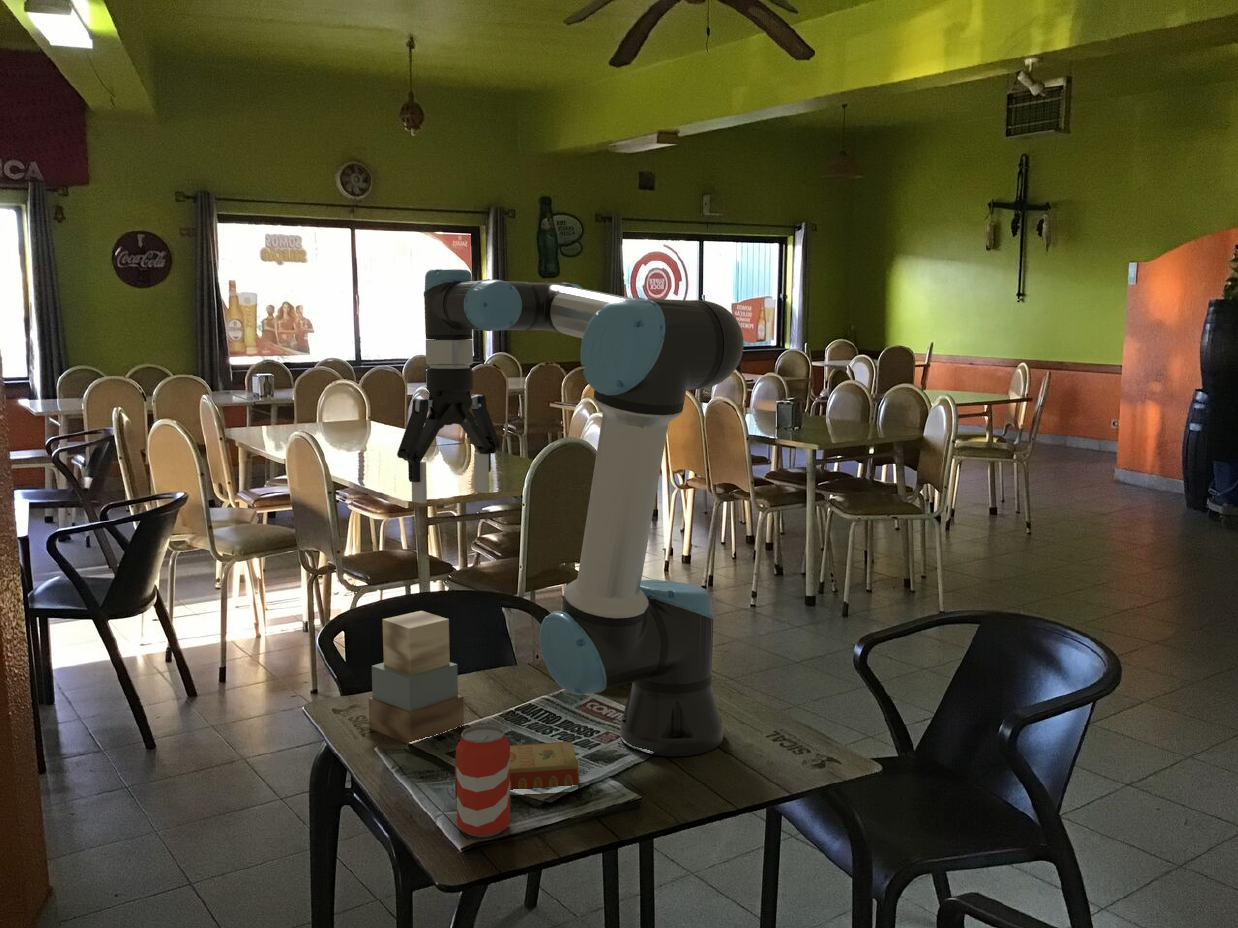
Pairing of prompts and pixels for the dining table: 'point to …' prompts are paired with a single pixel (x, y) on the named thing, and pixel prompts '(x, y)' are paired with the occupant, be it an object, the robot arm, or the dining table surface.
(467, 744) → the beverage can
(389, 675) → the tower top
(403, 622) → the maple cube
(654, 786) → the dining table surface
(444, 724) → the tower base
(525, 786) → the carton
